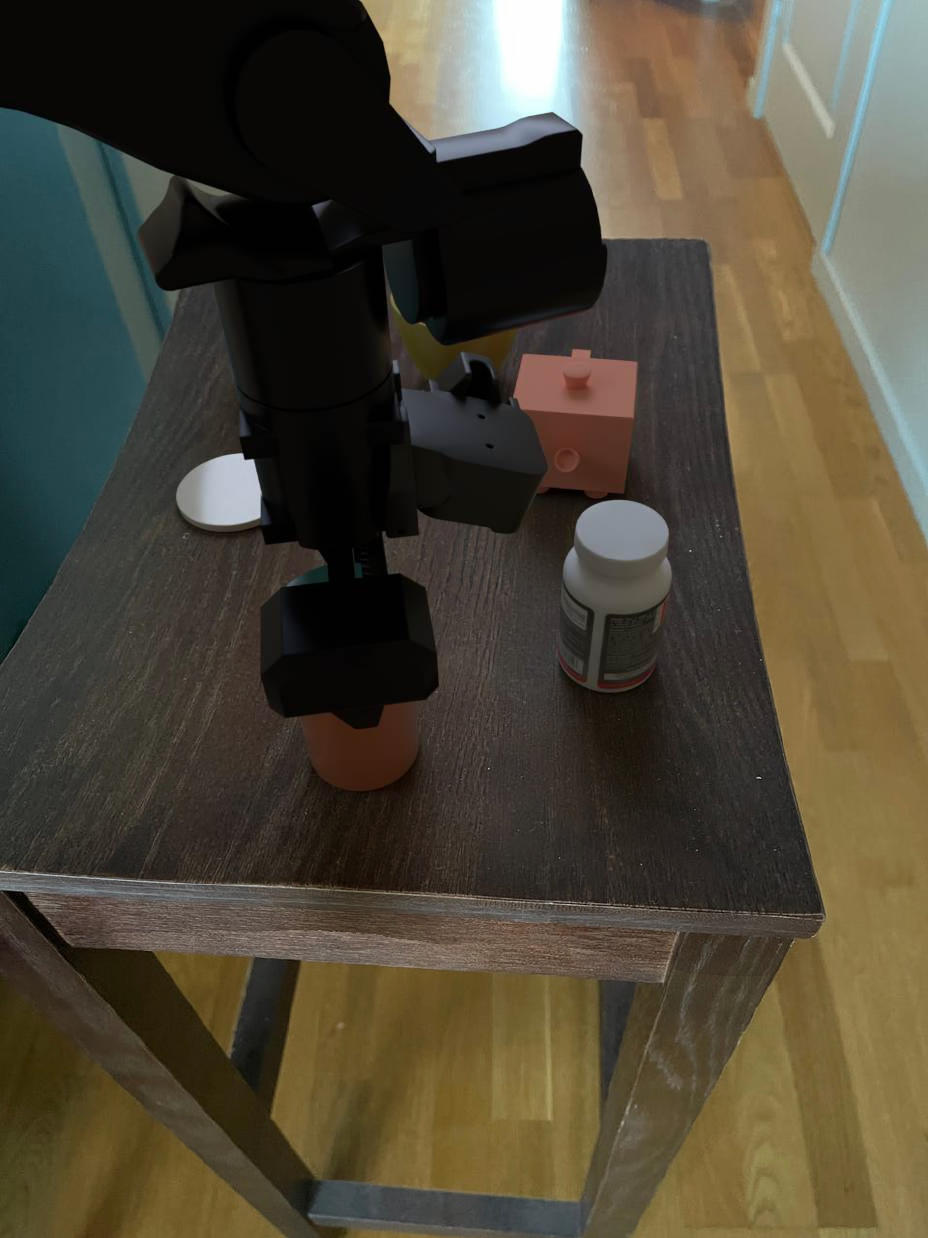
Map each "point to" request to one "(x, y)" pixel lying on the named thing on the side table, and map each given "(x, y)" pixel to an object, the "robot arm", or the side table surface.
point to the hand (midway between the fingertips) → (359, 649)
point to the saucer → (221, 495)
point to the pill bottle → (614, 596)
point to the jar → (363, 748)
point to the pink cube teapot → (580, 418)
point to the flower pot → (438, 356)
